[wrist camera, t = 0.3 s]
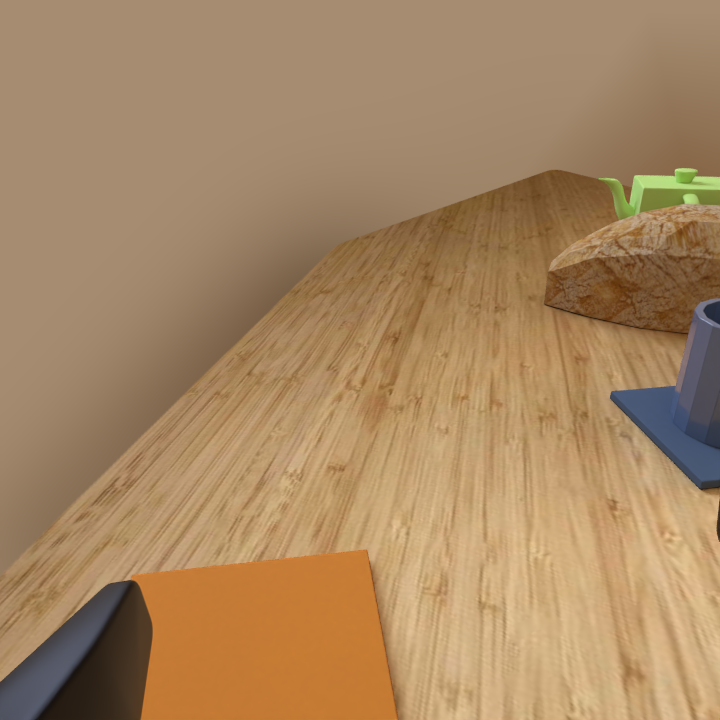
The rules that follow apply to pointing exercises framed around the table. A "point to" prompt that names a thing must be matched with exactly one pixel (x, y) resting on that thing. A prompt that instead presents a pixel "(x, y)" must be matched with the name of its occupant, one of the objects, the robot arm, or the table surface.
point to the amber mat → (267, 642)
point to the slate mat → (670, 433)
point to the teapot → (664, 192)
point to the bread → (642, 269)
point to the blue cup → (700, 377)
